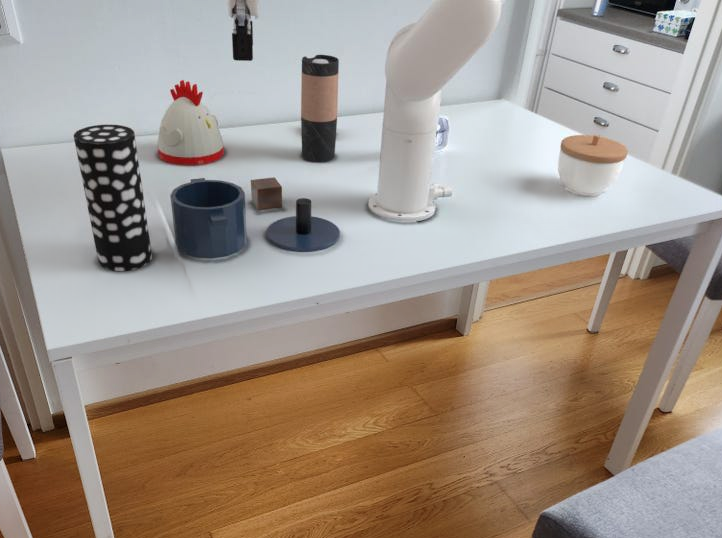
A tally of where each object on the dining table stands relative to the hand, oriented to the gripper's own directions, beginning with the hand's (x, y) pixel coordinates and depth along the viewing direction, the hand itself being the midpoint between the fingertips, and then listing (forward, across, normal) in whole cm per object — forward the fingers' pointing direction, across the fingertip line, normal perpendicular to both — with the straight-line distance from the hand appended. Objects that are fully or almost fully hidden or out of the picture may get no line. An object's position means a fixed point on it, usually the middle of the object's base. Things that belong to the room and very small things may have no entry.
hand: (243, 52), depth 114 cm
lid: (+25, -18, -10) cm, 32 cm away
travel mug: (+26, +21, -15) cm, 36 cm away
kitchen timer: (+26, +23, +12) cm, 37 cm away
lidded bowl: (+25, +2, -68) cm, 72 cm away
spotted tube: (+26, -24, +19) cm, 40 cm away
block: (+26, -5, -3) cm, 26 cm away
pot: (+26, -20, +6) cm, 33 cm away
